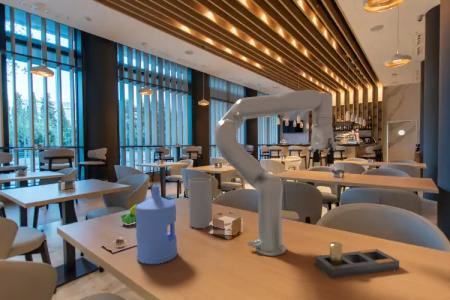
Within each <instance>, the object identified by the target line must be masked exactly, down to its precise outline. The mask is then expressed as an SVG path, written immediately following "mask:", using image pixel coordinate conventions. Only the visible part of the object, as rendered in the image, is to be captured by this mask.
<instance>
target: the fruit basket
mask: <svg viewBox="0 0 450 300" xmlns="http://www.w3.org/2000/svg"><path fill="white" fill-rule="evenodd" d="M138 204H139V203H138ZM138 204H136V203H135V204H134V205H133V206H132V207H130V209H129V213H126V214H123V215H120V219H121V221H122V223H123V222H124V223H127V224H130V223H133V222H136V206H137V205H138Z"/></svg>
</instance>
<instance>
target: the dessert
mask: <svg viewBox="0 0 450 300" xmlns="http://www.w3.org/2000/svg"><path fill="white" fill-rule="evenodd" d="M115 241H116V243H115V244H114V246H115V245H116V246H121V245H123V244H125V245H126V242H125V240H124V238H123V237H121V236H119V237H117V238H116V240H115Z"/></svg>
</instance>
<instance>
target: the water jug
mask: <svg viewBox="0 0 450 300" xmlns="http://www.w3.org/2000/svg"><path fill="white" fill-rule="evenodd" d="M160 192H161V190H160V186H159V185H155V186H151V197H149V198H148V199H146V200H144V201H142V202H140V203H138V205H137V206H136V224H135V226H136V230H135V231H136V232H135V234H136V235H135V238H136V243H137V245H136V259H137V261H138V262H139V263H141V262H142V263H141V264H144V263H145V264H144V265H160V263H161V264H165V263H167V261H168V262H169V261H171V259H172V260H173V259H174V258H175V257H176V256H177V254H178V246H177V245H178V244H177V243H178V242H177V240H178V239H177V235H176V232H175V230H176V228H175V227H176V225H175V222H176V221H177V207H176V206H177V204H176V203H175V202H174V201H173V200H170V199H167V198H165V197H161V195H160V194H161V193H160ZM168 227H170V229H169V230H170V231H169V232H168ZM164 262H165V263H164Z"/></svg>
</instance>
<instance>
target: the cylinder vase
mask: <svg viewBox="0 0 450 300" xmlns="http://www.w3.org/2000/svg"><path fill="white" fill-rule="evenodd" d="M187 182H188V183H187V184H188V186H187V187H188V188H187V189H188V219H189V220H188V221H189V223H188V224H189V227H190V226H191V227H190V228H192V227H195V228H194V229H196V228H203V229H205V228H204V227H208V226H209V223H210V222H211V221H212V222H213V192H212V190H213V189H212V178H209V177H208V178H207V177H206V178H205V177H195V178H191V179H188V181H187ZM208 228H209V227H208Z"/></svg>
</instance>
